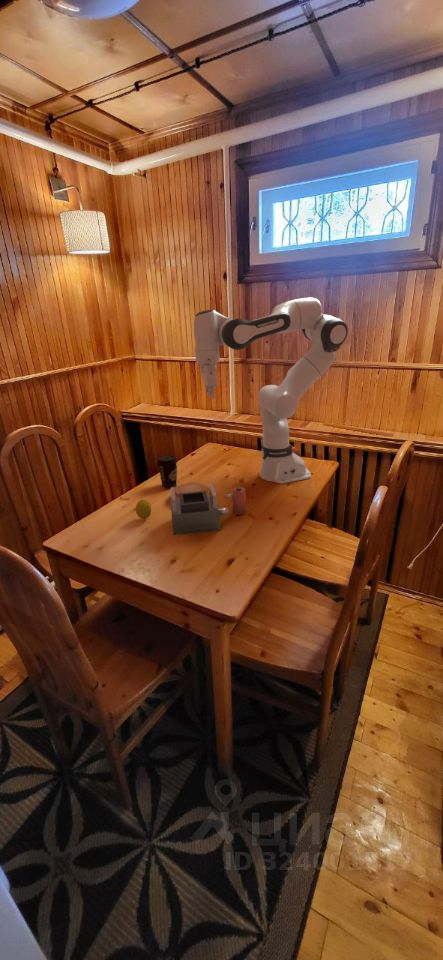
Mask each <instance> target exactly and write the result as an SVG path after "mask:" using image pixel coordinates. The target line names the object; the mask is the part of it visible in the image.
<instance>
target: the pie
mask: <svg viewBox="0 0 443 960" xmlns="http://www.w3.org/2000/svg"><path fill="white" fill-rule="evenodd" d="M174 490H175V499H177V498H180V497H179V493H189V492H199V491H206V495H210V489H209V487H208V486H207V485H205V484H202V483H200V482H199V483H198V482H186V483H182V484H180V485H178V486H177V485H176V486H175V487H174Z"/></svg>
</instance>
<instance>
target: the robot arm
mask: <svg viewBox="0 0 443 960" xmlns="http://www.w3.org/2000/svg"><path fill="white" fill-rule="evenodd" d="M193 320H194V321H193V338H194V340H195V347H194V352H195V363H196V364H197V365H198V364H199V368H200V375H201V378H202V380H203V382H204V385H205V392H206V394H208V398H209V399H214V398H215V397H214V396H215V394H214V392H215V388H216V387H217V385H218V380H217V369H216V368H217V367H218V366H217V365H218V363H220V362H221V358H220V346H224V347H227V348H230V349H232V350H236V351H240V350H243V349H245V348H247V347H248V346H249V345H251V343H253V342H254V341H257V340H259V339H262V338H264V337H268V336H270V335H274V334H288V333H294V332H297V331H298V332H299V331H300V330H301V331H302V334H303V336H304V337H305V338H306V339H307V340H309V341H311V342H312V346H311V347H310V348H309V350H308V351H307V352H306V353H305V354H304V355H303V356H302V357H300V358H299V360H297V362H295V364H294V365H293V366H291V368H289V370H288V371H287V373H286V376H285V378H284V379H283V380H282V382H281V383H280V385H276V384H268V385H264V386H262V388H260V390H259V392H258V394H257V400H258V403H259V411H260V417H261V418H260V419H261V422H262V424H261V425H262V445H261V458H262V461H261V467H260V472H259V478H261V479H262V480H264V481H268V482H273V483H276V484H279V485H280V484H286V483H287V484H288V483H292V482H296V481H301V480H307V479H311V477H312V474H311V472H310V470H309V469H308V468H307V467H306V463H305V461H304V460H303V459H302V458H301V457H300V456H299V455H297V454H296V452H297V448H296V447H295V446H293V445H291V444H290V426H289V424H288V423H289V422H288V420H287V419H288V418H290V417H292V416H293V415H294V414H295V412H296V410H297V407H298V404H299V403H300V401H301V399H302V398H303V397H304V395H305V394H306V392H307V391H308V390H309V389H310V388H311V387H312V386H313V385H314V384H315V383H316V382H317V381H319V379H320V378H321V377H322V376H324V374H325V373H326V372H327V371H328V370H329V369H330V367H331V366H332V364H333V363H334V362H335V360H336V358H337V354H336V352H337V351H338V350H340V347H341V346H342V345H343V344H344V342H345V341H346V339H347V337H348V334H349V333H348V332H349V329H348V325H347V324H346V322H345V321H344V320H342V319H341V318H339V317H335V316H333V315H330V314H324V313H323V307H322V304H321V302H320V300H319V299H317V298H315V297H301V298H296V299H291V300H288V301H284V302H282V303H280V304H278V305H276V306H274V308H272V311H271V314H270V315H266V316H264V317H260V318H256V319H253V320H247V319H244V318H230V317H228V316H225V315H223V314H221V313H219V312H218V311H217V310H215V309H205V310H201V311H199V312H197V313H196V314H195V316H194V319H193Z"/></svg>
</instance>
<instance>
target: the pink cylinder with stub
mask: <svg viewBox="0 0 443 960" xmlns="http://www.w3.org/2000/svg"><path fill="white" fill-rule="evenodd" d="M231 491H232V493H227V494H224V497H225V498H232V513H233V514H234V515H237V516H238V515H240V516H241V515H245V514H246V512H247V506H246V504H247V503H246V501H247V499H246V498H247V497H246V495H247V493H246V488H245V487H242V486H237V487H233V488H232V490H231Z"/></svg>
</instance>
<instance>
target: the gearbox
mask: <svg viewBox="0 0 443 960" xmlns="http://www.w3.org/2000/svg"><path fill="white" fill-rule="evenodd" d="M208 486H209V487H208V488H209V489H210V492H209V494H208V495H206V491H199V492H189V493H179V497H180V498H177V499H175V490H174V488H175V487H171V488H170V494H171V499H170V511H171V523H172V532H173V533H172V534H173V536H181V535H192V534H200V533H208V532H217V531H221V521H220V520H221V519H220V516H225V515H230V508H229V507H221V508H220V507H219V505H218V501H217V494H216V489H215V486H214V483H209V484H208Z"/></svg>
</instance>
